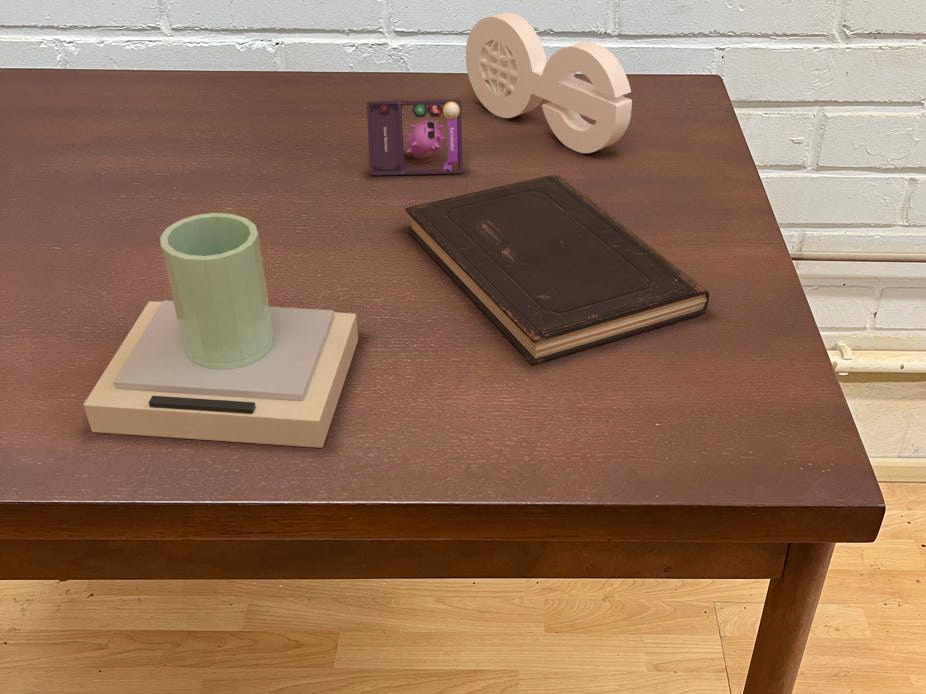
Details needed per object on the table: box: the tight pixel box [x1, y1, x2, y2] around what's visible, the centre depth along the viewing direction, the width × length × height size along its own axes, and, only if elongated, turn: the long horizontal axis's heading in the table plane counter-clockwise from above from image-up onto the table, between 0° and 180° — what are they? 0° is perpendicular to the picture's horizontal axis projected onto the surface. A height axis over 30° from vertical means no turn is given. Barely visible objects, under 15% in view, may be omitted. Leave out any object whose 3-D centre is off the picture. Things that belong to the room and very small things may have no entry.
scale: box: [83, 300, 359, 449], centre depth 72 cm, size 16×13×3 cm
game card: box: [366, 99, 464, 176], centre depth 99 cm, size 7×5×9 cm
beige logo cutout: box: [465, 12, 633, 154], centre depth 103 cm, size 22×2×10 cm, turn 42°
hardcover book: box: [404, 173, 710, 366], centre depth 84 cm, size 16×23×2 cm
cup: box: [159, 212, 274, 369], centre depth 68 cm, size 6×6×8 cm
